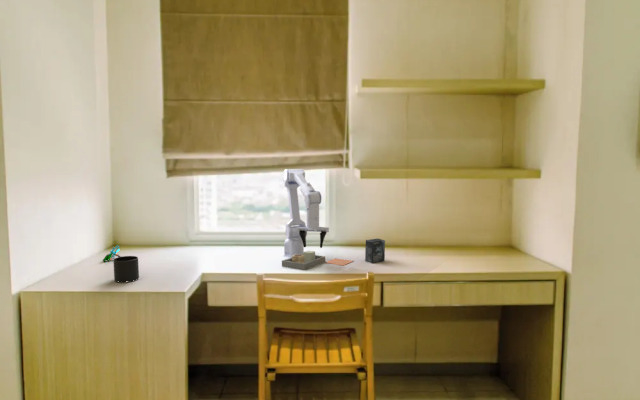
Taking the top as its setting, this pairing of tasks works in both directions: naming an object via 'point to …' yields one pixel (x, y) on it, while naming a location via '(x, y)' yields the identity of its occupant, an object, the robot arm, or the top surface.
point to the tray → (304, 266)
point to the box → (375, 250)
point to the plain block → (309, 256)
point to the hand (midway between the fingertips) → (313, 247)
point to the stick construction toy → (112, 254)
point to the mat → (339, 262)
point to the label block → (298, 258)
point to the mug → (126, 268)
